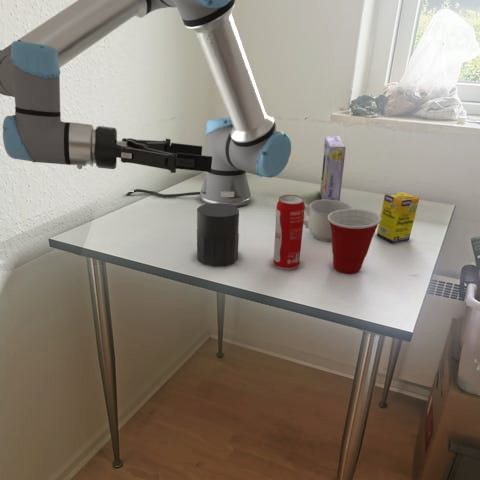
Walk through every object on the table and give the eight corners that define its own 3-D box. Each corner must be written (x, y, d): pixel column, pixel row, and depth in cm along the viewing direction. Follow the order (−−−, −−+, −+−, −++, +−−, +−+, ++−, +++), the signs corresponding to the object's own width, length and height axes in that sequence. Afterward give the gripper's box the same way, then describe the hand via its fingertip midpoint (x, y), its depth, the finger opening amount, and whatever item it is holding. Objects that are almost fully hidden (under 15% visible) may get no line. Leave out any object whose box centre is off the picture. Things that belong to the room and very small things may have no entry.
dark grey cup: (190, 261, 103) (189, 212, 97) (207, 247, 110) (207, 201, 104) (228, 269, 100) (229, 219, 95) (243, 254, 107) (245, 207, 102)
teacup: (351, 233, 122) (356, 202, 118) (345, 248, 113) (350, 215, 109) (298, 225, 125) (302, 195, 121) (288, 239, 117) (292, 207, 112)
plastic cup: (315, 258, 107) (322, 206, 101) (362, 258, 108) (371, 207, 102) (327, 279, 98) (335, 224, 92) (377, 279, 99) (389, 224, 93)
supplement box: (392, 244, 116) (401, 200, 111) (375, 235, 121) (384, 193, 115) (410, 240, 119) (420, 197, 113) (393, 232, 123) (402, 191, 118)
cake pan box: (318, 191, 154) (325, 133, 145) (333, 192, 154) (341, 134, 144) (321, 209, 137) (330, 146, 128) (339, 210, 137) (348, 147, 128)
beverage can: (299, 260, 106) (306, 193, 98) (299, 272, 100) (307, 203, 92) (272, 258, 106) (277, 191, 98) (271, 270, 101) (276, 201, 93)
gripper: (98, 156, 101) (196, 166, 107) (90, 180, 80) (213, 191, 85) (98, 119, 98) (199, 131, 103) (90, 133, 77) (218, 147, 82)
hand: (206, 158), depth 94 cm, fingers open, 13 cm apart
